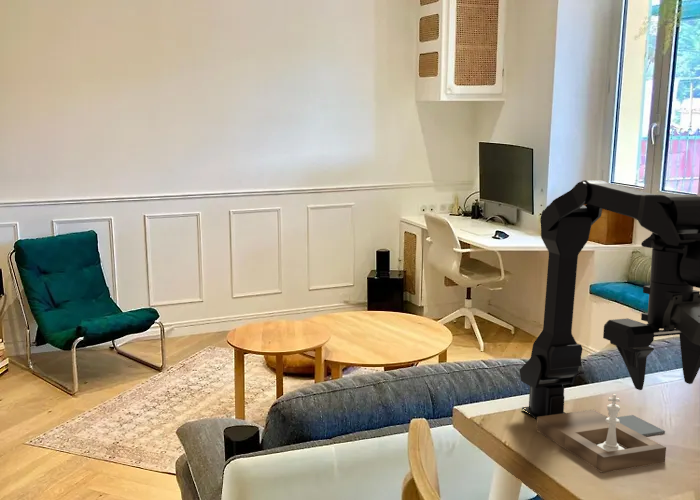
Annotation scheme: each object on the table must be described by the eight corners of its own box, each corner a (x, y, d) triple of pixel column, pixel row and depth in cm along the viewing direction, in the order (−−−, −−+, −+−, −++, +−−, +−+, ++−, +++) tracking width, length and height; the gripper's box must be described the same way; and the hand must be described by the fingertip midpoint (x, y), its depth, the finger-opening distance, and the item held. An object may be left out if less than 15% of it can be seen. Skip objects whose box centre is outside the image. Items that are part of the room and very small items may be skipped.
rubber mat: (597, 421, 128) (597, 419, 128) (632, 416, 130) (632, 414, 130) (628, 438, 120) (628, 436, 120) (664, 433, 123) (665, 430, 123)
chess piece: (629, 461, 111) (633, 401, 110) (596, 458, 112) (600, 398, 111) (623, 448, 116) (627, 390, 115) (592, 446, 117) (596, 388, 116)
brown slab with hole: (536, 430, 123) (537, 416, 123) (592, 422, 127) (593, 409, 127) (602, 472, 107) (603, 457, 107) (664, 462, 111) (666, 447, 111)
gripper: (661, 295, 90) (653, 412, 92) (769, 288, 96) (759, 397, 98) (603, 281, 100) (597, 386, 102) (704, 275, 107) (696, 374, 109)
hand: (663, 386), depth 103 cm, fingers open, 9 cm apart
